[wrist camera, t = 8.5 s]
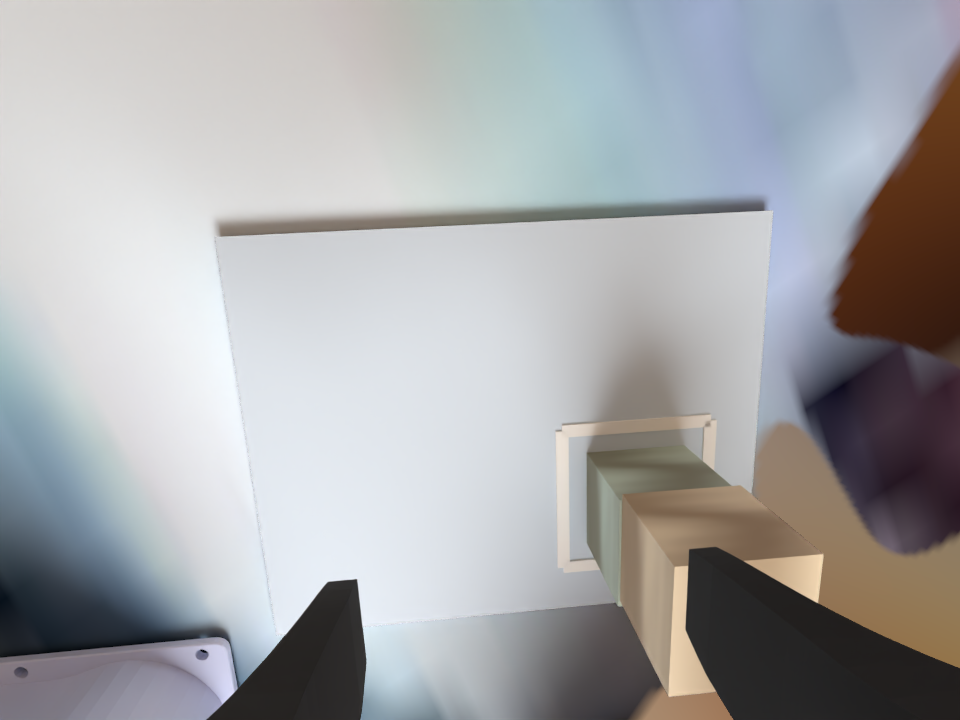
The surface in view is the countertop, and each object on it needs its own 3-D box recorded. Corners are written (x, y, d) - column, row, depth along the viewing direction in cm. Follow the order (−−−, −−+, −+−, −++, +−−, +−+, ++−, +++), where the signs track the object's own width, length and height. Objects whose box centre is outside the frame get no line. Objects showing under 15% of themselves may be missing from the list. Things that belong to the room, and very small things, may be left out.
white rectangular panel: (279, 627, 23) (275, 637, 22) (219, 236, 19) (213, 236, 19) (738, 583, 24) (746, 591, 24) (765, 210, 21) (774, 210, 20)
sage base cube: (586, 542, 23) (618, 606, 19) (586, 452, 22) (619, 500, 18) (680, 534, 23) (730, 595, 19) (684, 444, 22) (737, 490, 18)
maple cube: (619, 600, 19) (668, 696, 15) (622, 494, 18) (674, 566, 14) (732, 590, 19) (808, 682, 15) (740, 485, 18) (824, 554, 14)
